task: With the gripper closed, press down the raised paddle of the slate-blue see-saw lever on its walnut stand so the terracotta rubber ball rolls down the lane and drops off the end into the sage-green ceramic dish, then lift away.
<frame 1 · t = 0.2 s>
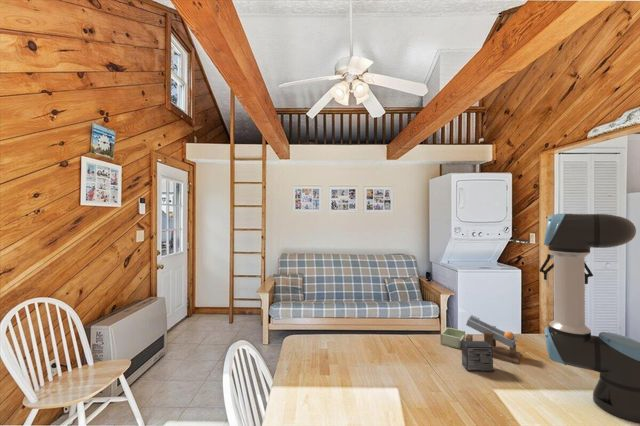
hand: (565, 288, 148), 28 cm above the table, fingers open, 13 cm apart
lever: (491, 327, 145), point 10 cm above the table, hinge at 18.1°, touching ball
dish: (453, 342, 153), on the table
stand: (490, 351, 143), on the table
small box: (477, 368, 128), on the table
ball: (509, 336, 138), point 9 cm above the table, tilted 11°, touching lever
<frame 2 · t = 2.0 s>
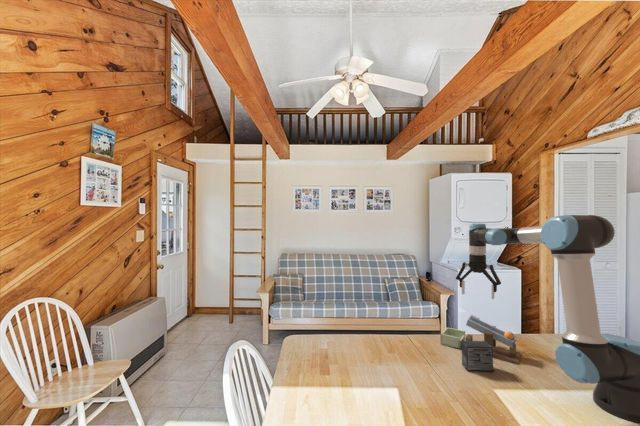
hand: (477, 296, 153), 23 cm above the table, fingers open, 13 cm apart
nothing on the table moved.
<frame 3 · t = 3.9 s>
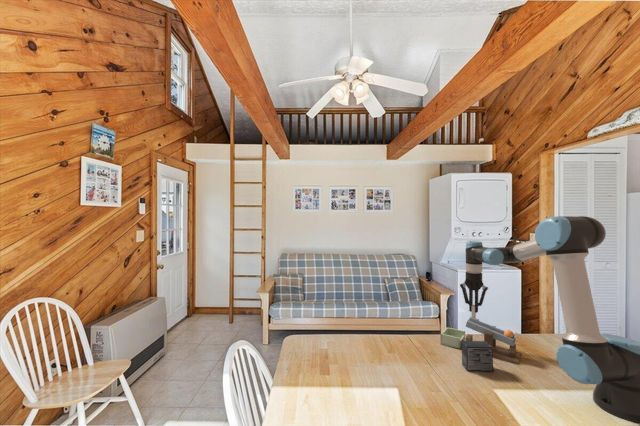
hand: (473, 318, 154), 12 cm above the table, fingers closed
lever: (491, 327, 145), point 10 cm above the table, hinge at 13.2°, touching ball, gripper
ball: (509, 334, 138), point 10 cm above the table, tilted 6°, touching lever
everything else where it was.
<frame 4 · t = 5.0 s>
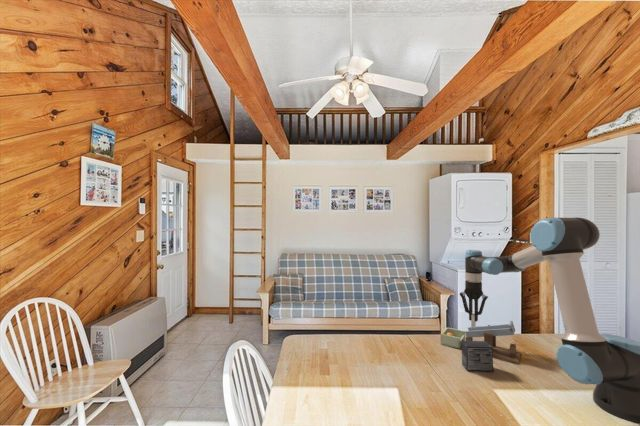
hand: (473, 327, 154), 7 cm above the table, fingers closed
lever: (489, 327, 145), point 10 cm above the table, hinge at -16.9°, touching gripper
ball: (449, 336, 153), point 3 cm above the table, tilted 90°, touching dish
everything else where it was.
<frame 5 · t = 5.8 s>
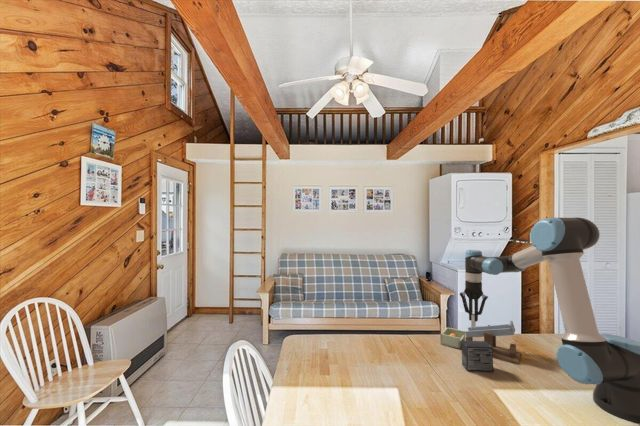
hand: (473, 327, 154), 7 cm above the table, fingers closed
ball: (453, 337, 152), point 3 cm above the table, tilted 43°, touching dish
everything else where it was.
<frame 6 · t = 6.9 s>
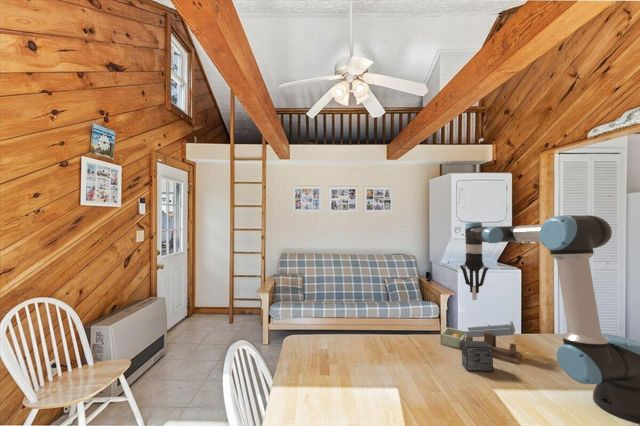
hand: (474, 299, 153), 22 cm above the table, fingers closed
lever: (489, 327, 145), point 10 cm above the table, hinge at -17.0°
ball: (456, 338, 152), point 3 cm above the table, touching dish
everything else where it was.
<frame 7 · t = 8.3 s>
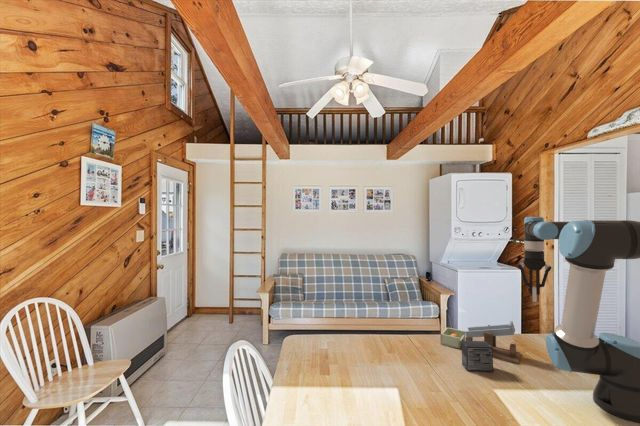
hand: (534, 301, 140), 24 cm above the table, fingers closed
ball: (454, 337, 152), point 3 cm above the table, tilted 28°, touching dish
everything else where it was.
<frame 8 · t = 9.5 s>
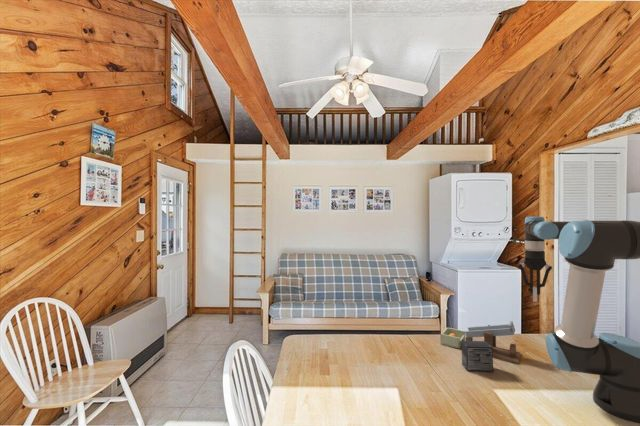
hand: (535, 301, 140), 24 cm above the table, fingers closed
ball: (452, 337, 153), point 3 cm above the table, tilted 49°, touching dish
everything else where it was.
at the end: ball inside the target area on the dish (0.2 cm from its centre), point 2.7 cm above the dish's base; lever at -17° (first picture: +18°) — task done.
